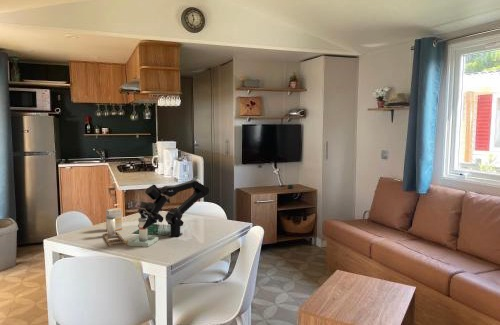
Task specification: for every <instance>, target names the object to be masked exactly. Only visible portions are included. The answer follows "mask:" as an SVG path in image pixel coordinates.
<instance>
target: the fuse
mask: <svg viewBox="0 0 500 325" xmlns="http://www.w3.org/2000/svg"><path fill="white" fill-rule="evenodd" d="M106 232H107V235H106V237H107V236H115V235H117V234H116V233H115V232H116V230H115V215H108V216H107V227H106Z"/></svg>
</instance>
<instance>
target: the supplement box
mask: <svg viewBox="0 0 500 325" xmlns="http://www.w3.org/2000/svg"><path fill="white" fill-rule="evenodd" d="M122 213H123V212H122V208H120V207H114V208H108V209H105V223H106V228H107V216H108V215H115V231H119V230H123V216H122V215H123V214H122Z"/></svg>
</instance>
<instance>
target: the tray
mask: <svg viewBox="0 0 500 325" xmlns="http://www.w3.org/2000/svg"><path fill="white" fill-rule="evenodd" d="M158 241H159V236H149V235H148V240H147V241H139V235H138V236H136V237H134V238H132V239H130V240H128V243H127V246H131V247H141V246H142V247H143V248H144V247H145V248H149V247H150V246H152V245H154V244H155V243H157V242H158Z"/></svg>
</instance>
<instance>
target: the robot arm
mask: <svg viewBox="0 0 500 325" xmlns="http://www.w3.org/2000/svg"><path fill="white" fill-rule="evenodd" d="M190 189H193V193H192V194H191V195H190V196H189V197H188V198H187V199H185V201H184V202H182V203H181V204H180V205H179V206H178V207H177V208H171V209H169V211H168V212H166V214H165V221H166V223H167V225H169V226H170V228H169V229H170V234H168V236H167V237H172V238H174V237H175V238H179V237H180V236H182V235H183V234H184V233H182V232H181V227H182V226H184V221H183V220H182V218H183V215H184V214H185V213H186V212H187V211H188V210H189V209H190V208H192V206H193V205H194V204H195V203H197V202H198V201H199V200H200V199H201V200H202V199H203V198H205V197H207V196H208V195H209V194H210V188H209V187H208V186H206V185H204V184H202V183H201V182H199V181H198V180H194V179H191V180H188V181H185V182H182V183H178V184H175V185H164V186H162V188H158V186H157V185H156V184H152V185H150V186H149V187H147V188H146V190H145V194H146V195H147V196H148V198H150V199H151V200H152V201H153V202H150V201H148V202H144V201H141V203H140V206H139V208H138V210H136V211H137V213H138V214H139V215H140V218H143V217H146V218H147V221H146V223H145V224H144V226H143V229H145V228H147V229H148V227H150V226H152V225H154V224H157V223H161V224H162V223H163V221H164V217H163V216H162V215H161V214H160V213H159V212H162V211H163V208H164V206H165V205H166V203H167V204H171V201H170V198H171V197H175V196H176V195H177V194H178V193H181V192H183V191H186V190H190ZM137 227H138V228H139V224H138V225H137Z"/></svg>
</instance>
